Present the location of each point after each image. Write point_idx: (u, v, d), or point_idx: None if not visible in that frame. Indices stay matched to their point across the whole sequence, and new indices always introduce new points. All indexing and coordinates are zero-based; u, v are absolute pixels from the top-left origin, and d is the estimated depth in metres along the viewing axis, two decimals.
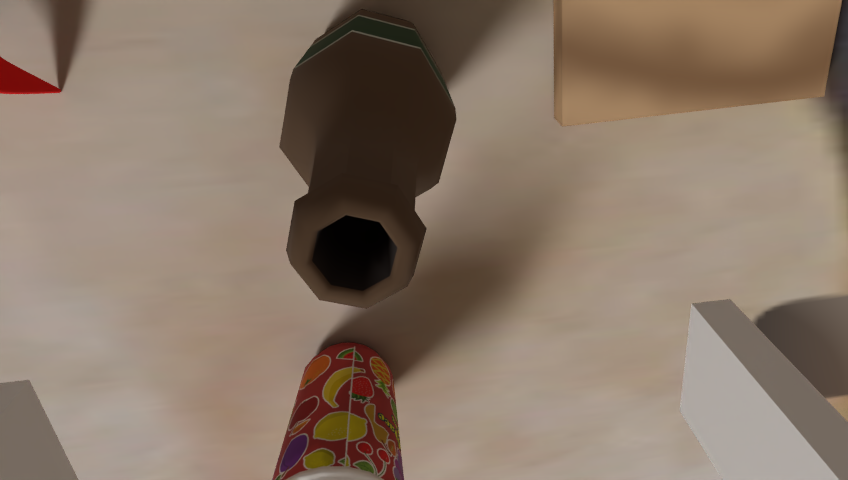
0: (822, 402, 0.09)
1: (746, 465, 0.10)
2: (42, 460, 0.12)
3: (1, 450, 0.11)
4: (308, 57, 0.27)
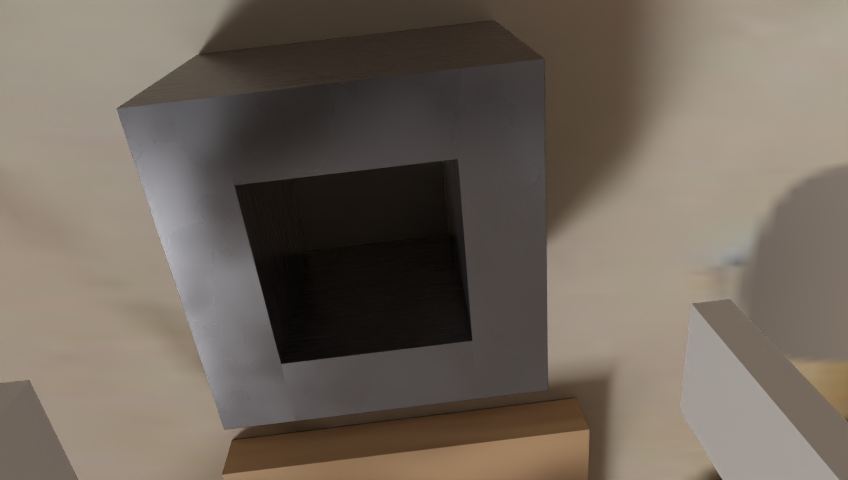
0: (822, 402, 0.09)
1: (747, 465, 0.10)
2: (42, 460, 0.12)
3: (1, 450, 0.11)
4: None
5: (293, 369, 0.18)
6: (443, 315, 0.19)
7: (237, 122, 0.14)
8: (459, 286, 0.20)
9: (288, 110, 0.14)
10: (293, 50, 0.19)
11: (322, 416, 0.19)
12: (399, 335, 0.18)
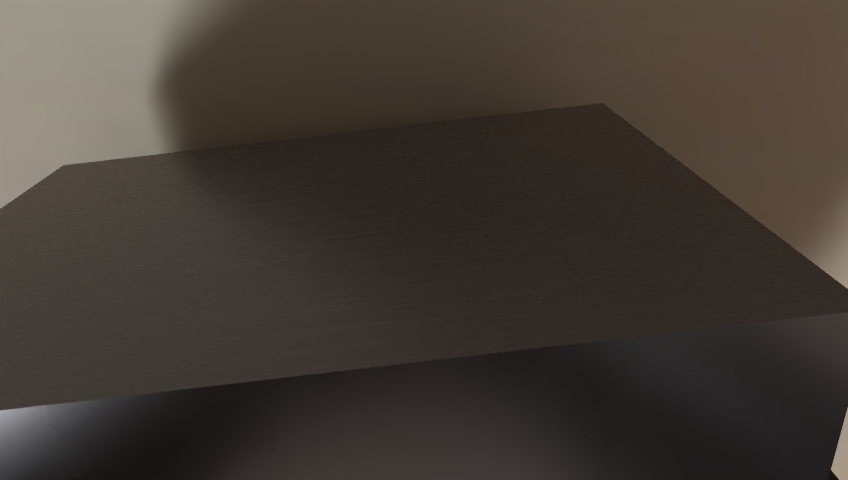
0: None
1: None
2: None
3: None
4: None
5: None
6: None
7: (9, 471, 0.05)
8: None
9: (148, 441, 0.05)
10: (228, 171, 0.10)
11: None
12: None
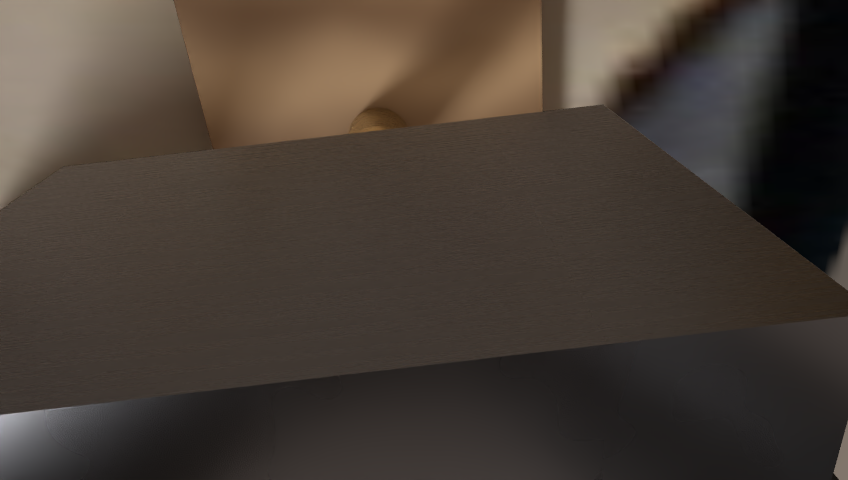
0: None
1: None
2: None
3: None
4: None
5: None
6: None
7: (7, 475, 0.05)
8: None
9: (147, 446, 0.05)
10: (228, 173, 0.10)
11: None
12: None
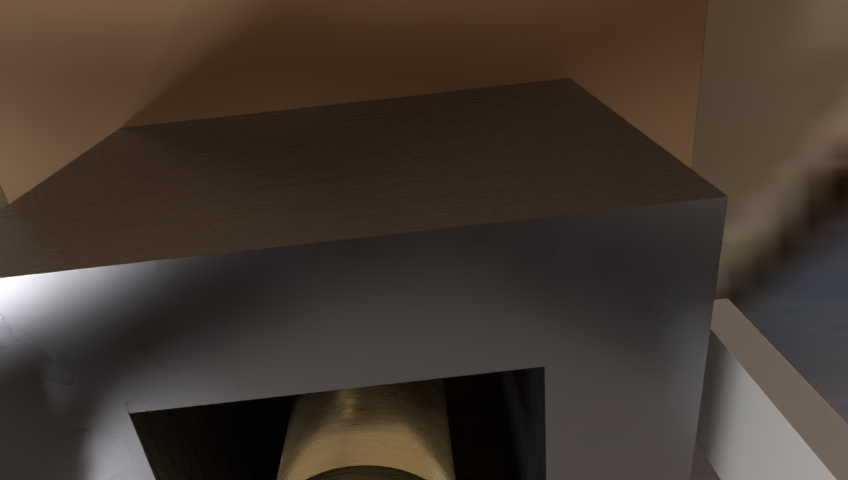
0: (819, 401, 0.09)
1: (744, 464, 0.10)
2: None
3: None
4: None
5: None
6: None
7: (125, 312, 0.07)
8: None
9: (224, 290, 0.07)
10: (260, 129, 0.12)
11: None
12: None
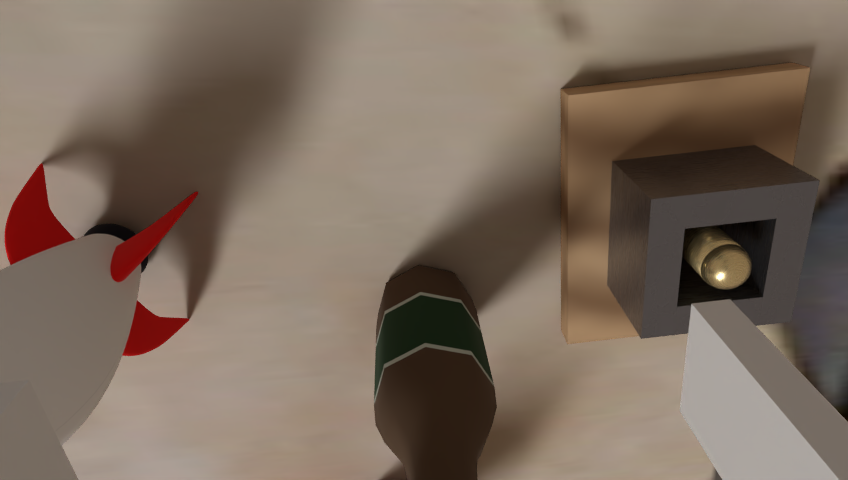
0: (822, 402, 0.09)
1: (747, 466, 0.10)
2: (42, 460, 0.12)
3: (1, 450, 0.11)
4: (393, 354, 0.38)
5: (681, 309, 0.39)
6: (740, 286, 0.41)
7: (694, 204, 0.36)
8: None
9: (716, 199, 0.36)
10: (670, 162, 0.41)
11: (686, 332, 0.40)
12: (724, 295, 0.40)
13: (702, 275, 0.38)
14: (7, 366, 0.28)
